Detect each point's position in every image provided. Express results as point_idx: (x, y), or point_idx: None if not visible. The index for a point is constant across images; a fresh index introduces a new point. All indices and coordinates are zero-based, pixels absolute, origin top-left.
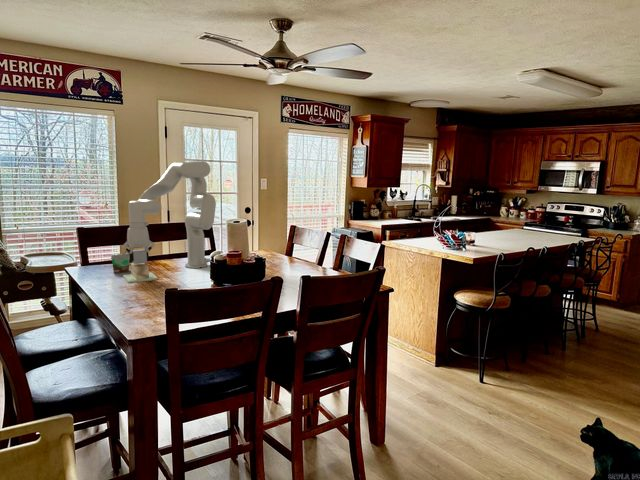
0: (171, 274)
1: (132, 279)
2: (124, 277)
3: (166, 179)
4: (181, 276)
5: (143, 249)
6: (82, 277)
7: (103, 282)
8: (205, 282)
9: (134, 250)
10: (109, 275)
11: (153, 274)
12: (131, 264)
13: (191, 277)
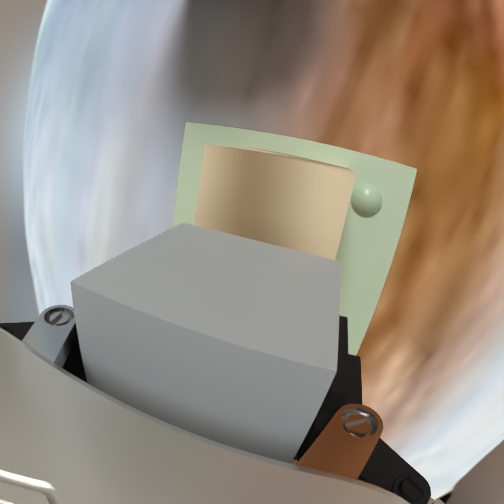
0: (492, 296)
1: None
2: (177, 195)
3: None
4: (480, 377)
5: (321, 381)
6: (51, 32)
7: (78, 201)
8: (433, 487)
9: (114, 335)
10: (146, 30)
11: (386, 271)
12: (202, 179)
13: (482, 417)
